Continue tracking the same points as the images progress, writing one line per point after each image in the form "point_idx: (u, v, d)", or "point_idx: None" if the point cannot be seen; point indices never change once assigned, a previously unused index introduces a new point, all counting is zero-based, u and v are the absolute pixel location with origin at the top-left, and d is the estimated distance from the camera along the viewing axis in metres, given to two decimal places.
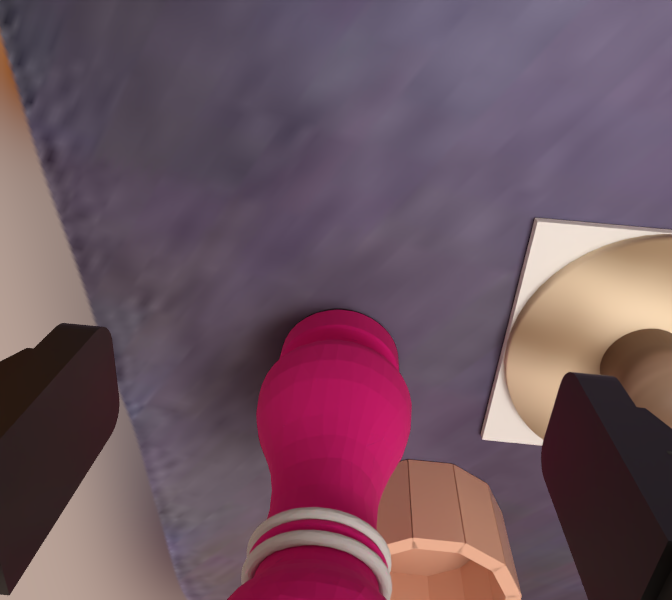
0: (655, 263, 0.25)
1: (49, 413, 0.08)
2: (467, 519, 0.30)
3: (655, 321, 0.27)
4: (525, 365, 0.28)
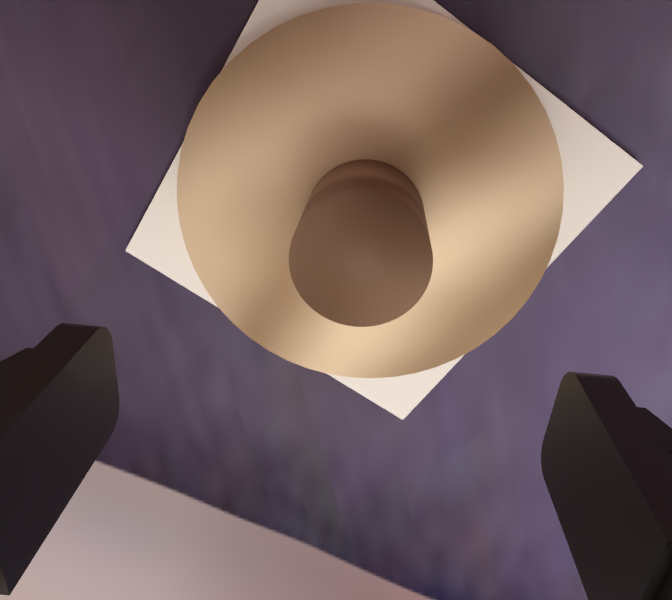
0: (508, 277, 0.20)
1: (50, 414, 0.08)
2: None
3: None
4: (451, 57, 0.17)
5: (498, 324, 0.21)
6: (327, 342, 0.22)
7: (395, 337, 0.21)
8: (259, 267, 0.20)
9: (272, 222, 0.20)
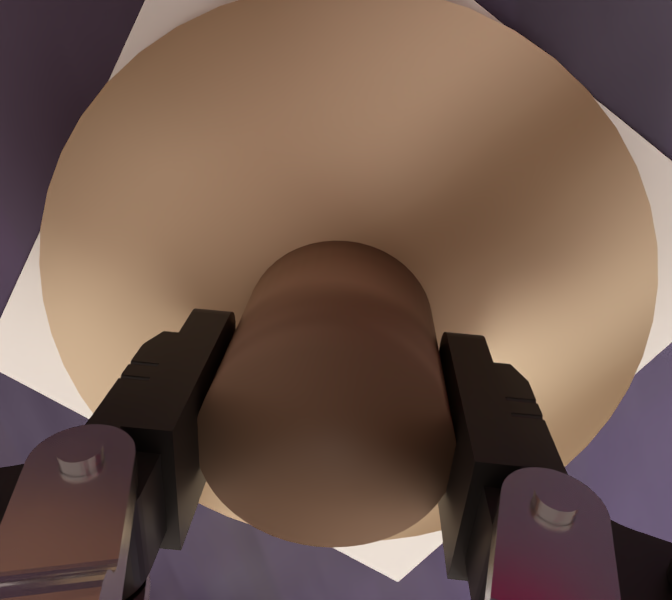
0: (560, 413, 0.13)
1: (205, 388, 0.09)
2: None
3: None
4: (482, 79, 0.10)
5: None
6: None
7: None
8: None
9: None
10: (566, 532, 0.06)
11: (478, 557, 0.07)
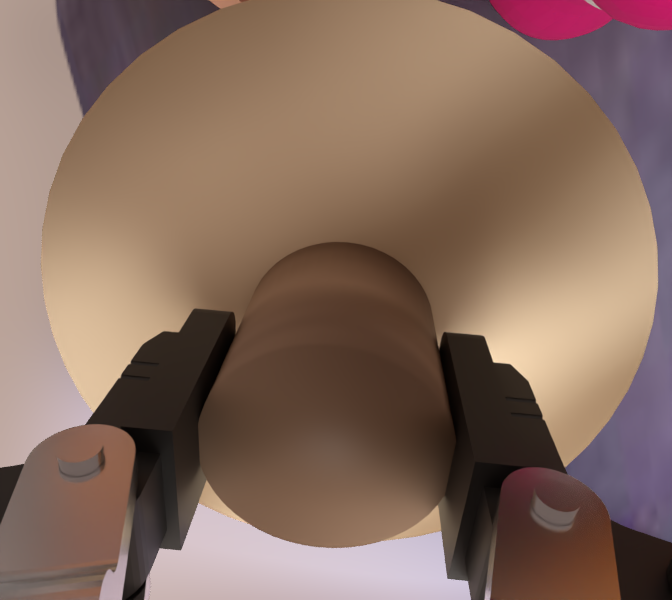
0: (561, 413, 0.13)
1: (205, 388, 0.09)
2: None
3: None
4: (482, 81, 0.10)
5: None
6: None
7: None
8: None
9: None
10: (566, 532, 0.06)
11: (478, 557, 0.07)
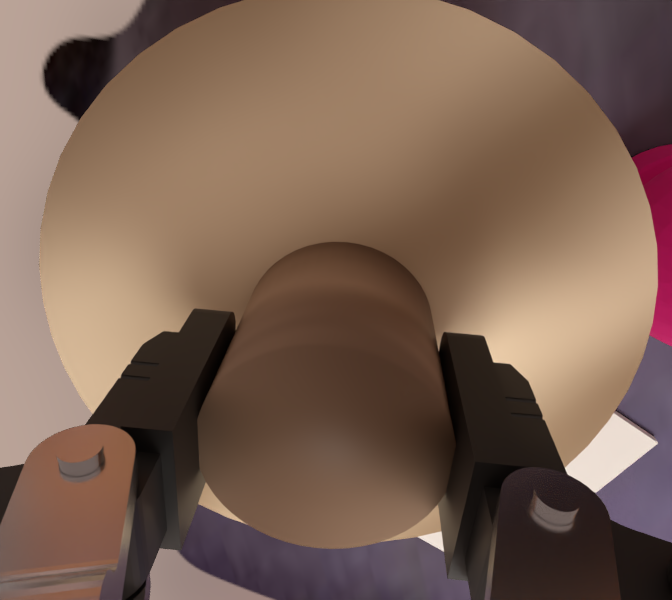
0: (560, 414, 0.13)
1: (206, 388, 0.09)
2: None
3: None
4: (482, 80, 0.10)
5: None
6: None
7: None
8: None
9: None
10: (566, 532, 0.06)
11: (478, 557, 0.07)
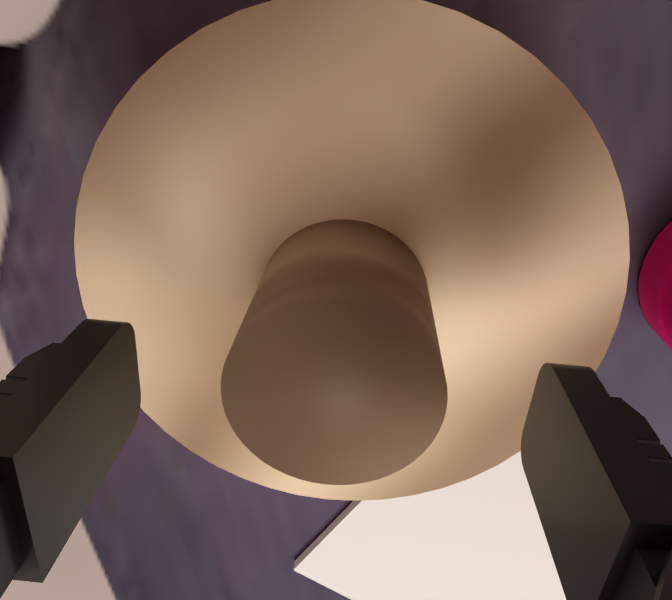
0: None
1: (79, 406, 0.08)
2: None
3: None
4: (471, 74, 0.11)
5: None
6: None
7: None
8: (197, 362, 0.15)
9: (212, 303, 0.14)
10: None
11: None
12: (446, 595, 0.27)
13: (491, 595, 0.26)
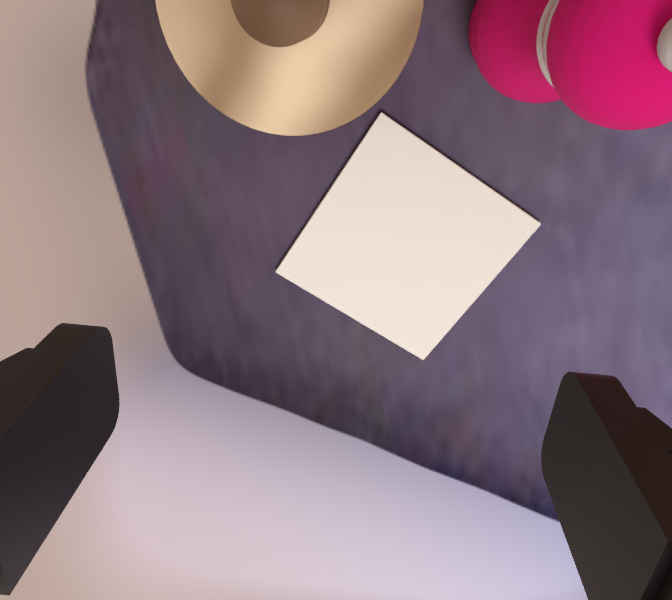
0: (392, 42, 0.28)
1: (50, 413, 0.08)
2: None
3: (331, 24, 0.28)
4: None
5: (389, 82, 0.29)
6: (268, 105, 0.30)
7: (317, 98, 0.29)
8: (215, 42, 0.28)
9: (222, 3, 0.28)
10: None
11: None
12: (376, 286, 0.41)
13: (405, 284, 0.40)
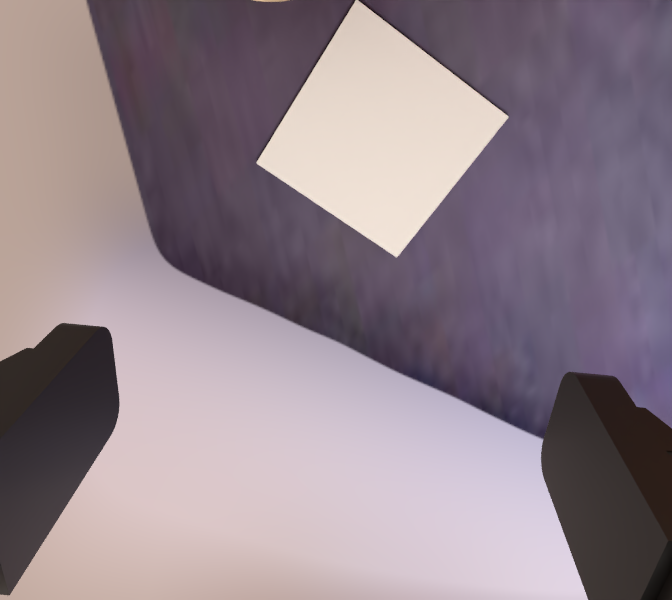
0: None
1: (50, 414, 0.08)
2: None
3: None
4: None
5: None
6: None
7: None
8: None
9: None
10: None
11: None
12: (352, 179, 0.42)
13: (380, 178, 0.42)
